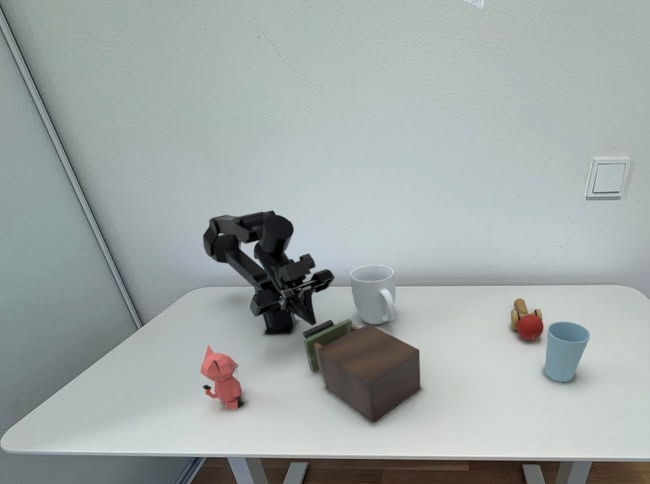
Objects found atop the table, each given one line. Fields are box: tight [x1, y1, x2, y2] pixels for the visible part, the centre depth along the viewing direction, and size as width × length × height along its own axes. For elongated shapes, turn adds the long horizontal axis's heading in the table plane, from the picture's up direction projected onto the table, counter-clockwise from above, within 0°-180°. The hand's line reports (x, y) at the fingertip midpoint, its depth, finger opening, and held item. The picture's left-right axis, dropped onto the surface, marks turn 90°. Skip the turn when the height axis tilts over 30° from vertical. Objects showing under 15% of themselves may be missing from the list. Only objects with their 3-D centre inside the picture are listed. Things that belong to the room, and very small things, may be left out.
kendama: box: [510, 297, 545, 341], centre depth 92 cm, size 8×6×18 cm
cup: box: [544, 321, 591, 383], centre depth 74 cm, size 8×8×10 cm
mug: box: [349, 263, 396, 325], centre depth 93 cm, size 15×11×13 cm
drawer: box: [302, 318, 360, 376], centre depth 77 cm, size 18×11×8 cm, turn 46°
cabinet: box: [318, 323, 421, 424], centre depth 72 cm, size 15×13×10 cm
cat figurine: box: [199, 344, 244, 410], centre depth 69 cm, size 7×7×12 cm
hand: (314, 324), depth 81 cm, fingers closed
